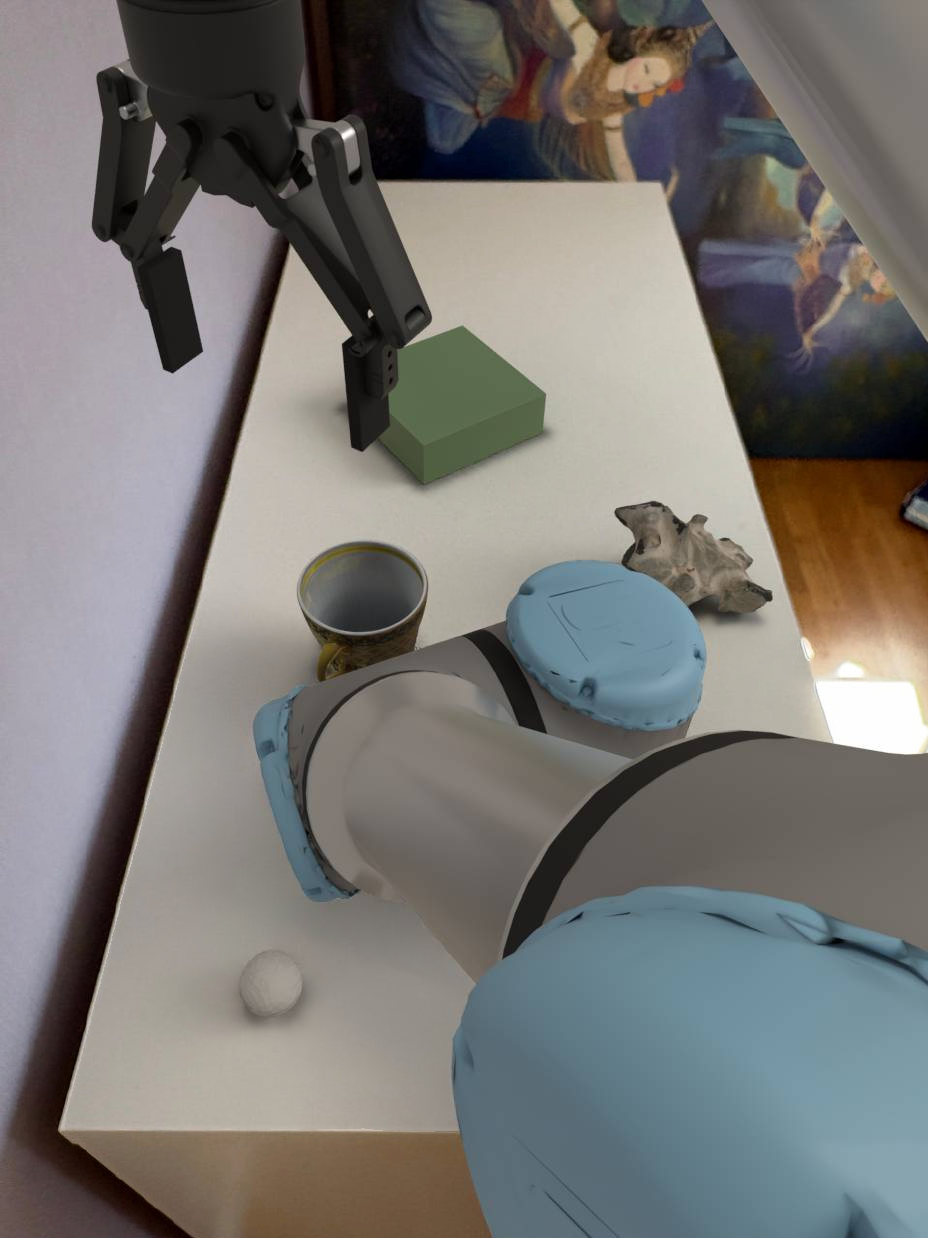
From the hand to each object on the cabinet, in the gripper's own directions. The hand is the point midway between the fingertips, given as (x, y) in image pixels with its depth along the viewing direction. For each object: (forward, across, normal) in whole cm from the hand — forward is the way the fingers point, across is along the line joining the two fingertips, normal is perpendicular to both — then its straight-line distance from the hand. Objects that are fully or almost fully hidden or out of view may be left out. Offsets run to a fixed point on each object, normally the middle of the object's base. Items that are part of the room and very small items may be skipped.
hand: (273, 397), depth 55 cm
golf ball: (+30, -11, +20) cm, 38 cm away
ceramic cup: (+30, -1, -4) cm, 30 cm away
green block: (+30, +11, -37) cm, 49 cm away
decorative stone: (+22, -22, -28) cm, 41 cm away
